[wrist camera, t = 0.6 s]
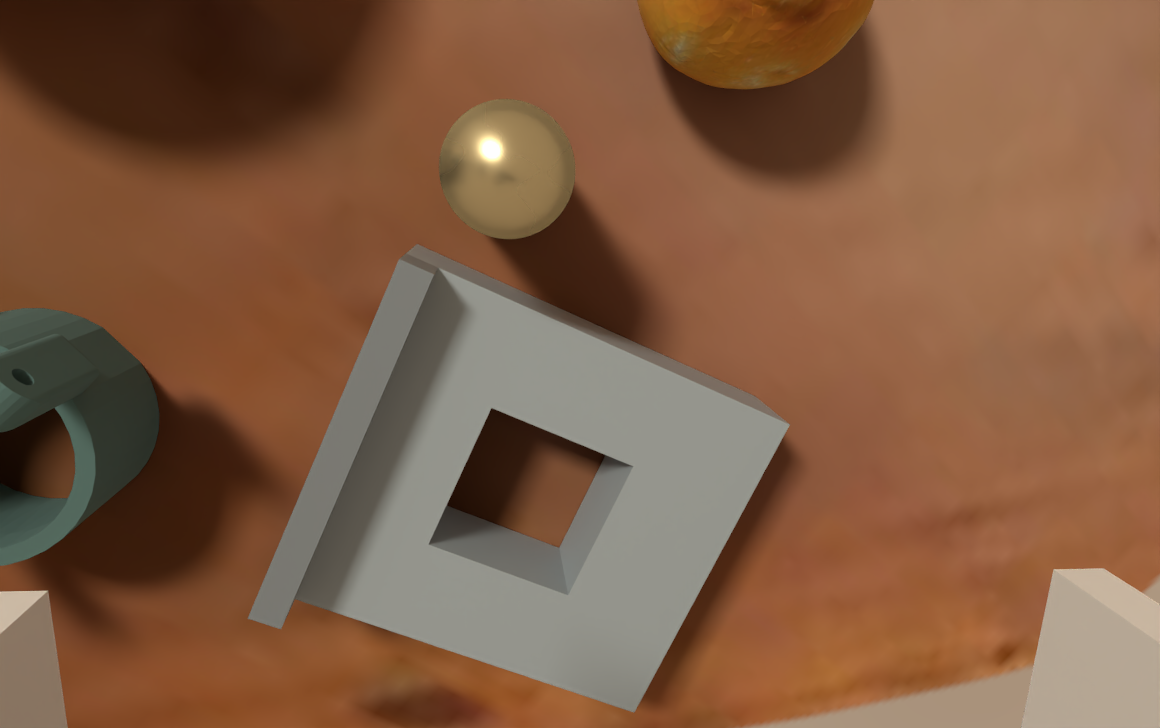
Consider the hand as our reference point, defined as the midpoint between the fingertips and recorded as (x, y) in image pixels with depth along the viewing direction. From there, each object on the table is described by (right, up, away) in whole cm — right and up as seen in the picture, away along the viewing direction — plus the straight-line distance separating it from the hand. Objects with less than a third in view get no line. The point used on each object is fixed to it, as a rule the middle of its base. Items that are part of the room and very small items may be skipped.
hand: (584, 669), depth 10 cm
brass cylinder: (-3, +12, +20) cm, 23 cm away
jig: (-2, 0, +23) cm, 23 cm away
